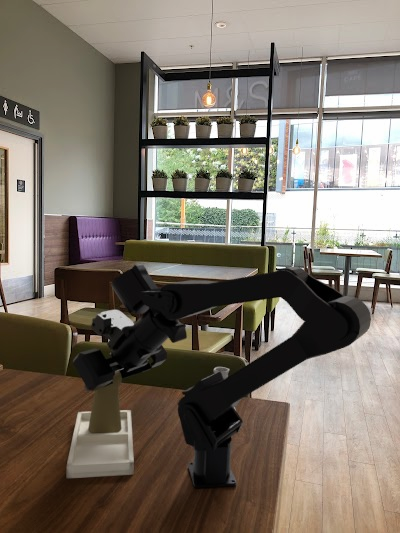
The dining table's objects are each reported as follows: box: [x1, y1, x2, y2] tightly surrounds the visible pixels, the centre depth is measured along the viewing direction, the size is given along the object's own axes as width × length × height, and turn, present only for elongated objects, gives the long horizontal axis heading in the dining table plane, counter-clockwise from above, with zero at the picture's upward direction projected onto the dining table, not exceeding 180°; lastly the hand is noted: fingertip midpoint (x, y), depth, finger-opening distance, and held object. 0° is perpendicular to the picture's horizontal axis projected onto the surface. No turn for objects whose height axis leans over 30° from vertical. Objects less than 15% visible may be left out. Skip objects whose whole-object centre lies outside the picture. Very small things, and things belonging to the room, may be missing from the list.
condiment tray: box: [66, 409, 135, 479], centre depth 77 cm, size 19×10×2 cm, turn 10°
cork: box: [88, 371, 123, 434], centre depth 82 cm, size 6×6×11 cm
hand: (99, 383), depth 82 cm, fingers open, 6 cm apart
